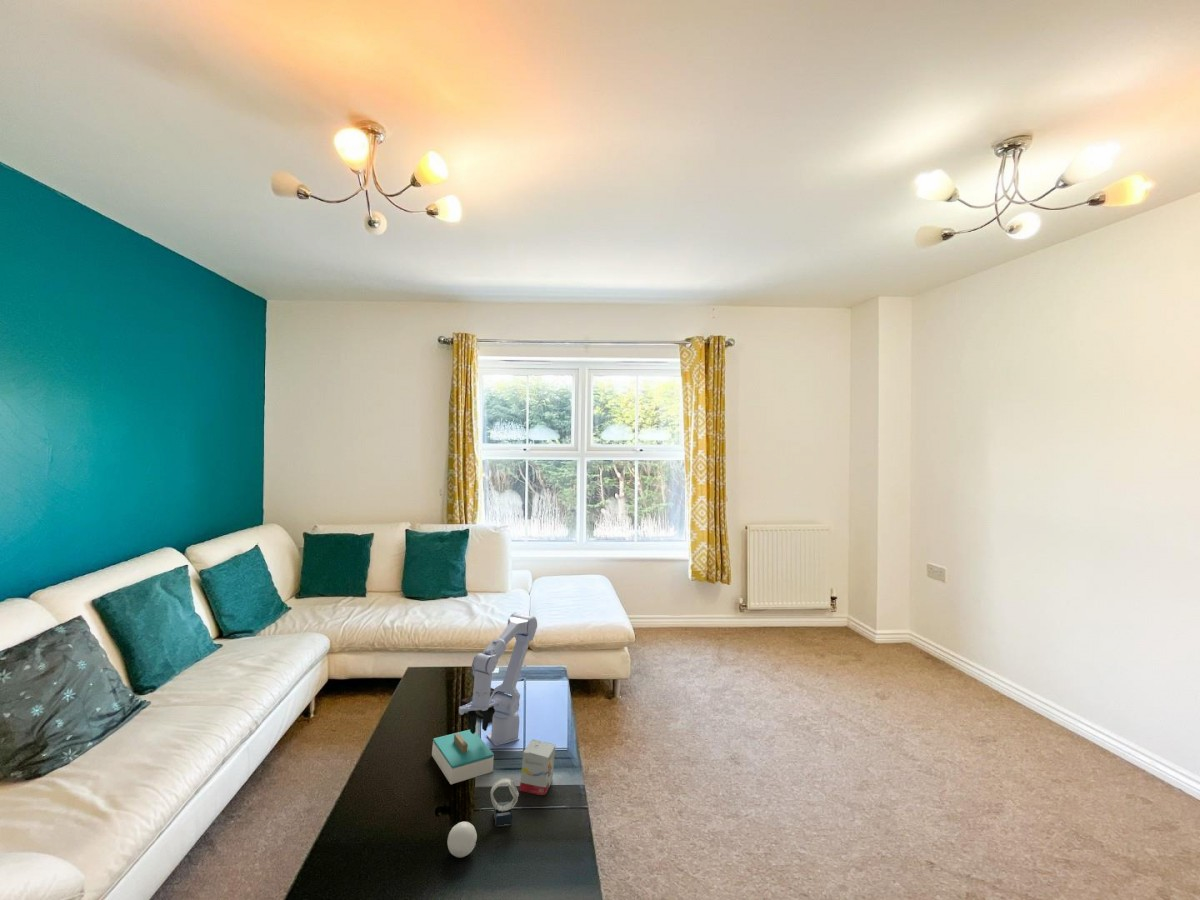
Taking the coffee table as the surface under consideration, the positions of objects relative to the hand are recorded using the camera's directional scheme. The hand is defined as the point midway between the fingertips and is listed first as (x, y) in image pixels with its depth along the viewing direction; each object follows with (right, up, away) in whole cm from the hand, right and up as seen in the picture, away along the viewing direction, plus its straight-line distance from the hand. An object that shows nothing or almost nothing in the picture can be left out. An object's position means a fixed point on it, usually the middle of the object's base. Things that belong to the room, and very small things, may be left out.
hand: (478, 731), depth 173 cm
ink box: (+21, -11, -12) cm, 26 cm away
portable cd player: (-4, -11, +36) cm, 38 cm away
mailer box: (-5, -9, -3) cm, 11 cm away
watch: (+14, -10, -28) cm, 33 cm away
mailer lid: (-4, -4, -3) cm, 7 cm away
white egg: (+5, -9, -41) cm, 42 cm away
